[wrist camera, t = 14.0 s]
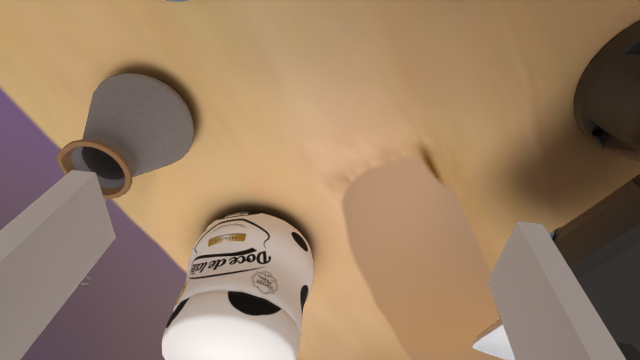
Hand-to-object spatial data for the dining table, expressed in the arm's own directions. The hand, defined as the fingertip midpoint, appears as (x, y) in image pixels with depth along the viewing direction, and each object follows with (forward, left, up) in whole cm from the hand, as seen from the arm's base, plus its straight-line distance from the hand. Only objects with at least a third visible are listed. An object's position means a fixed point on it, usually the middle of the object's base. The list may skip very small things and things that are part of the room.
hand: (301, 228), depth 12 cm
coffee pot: (+22, +17, -32) cm, 42 cm away
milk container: (+8, +33, -32) cm, 47 cm away
